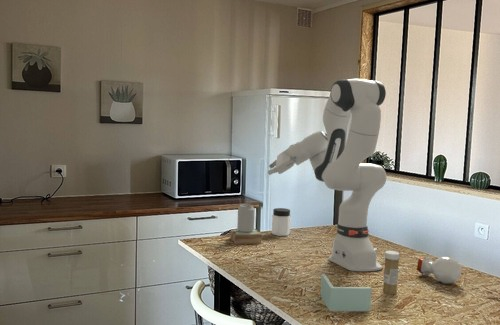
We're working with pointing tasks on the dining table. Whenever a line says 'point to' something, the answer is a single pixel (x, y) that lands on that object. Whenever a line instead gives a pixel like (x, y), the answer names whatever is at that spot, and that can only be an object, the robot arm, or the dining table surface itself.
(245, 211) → the can
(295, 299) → the dining table surface
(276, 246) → the dining table surface
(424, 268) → the potion bottle
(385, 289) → the sprinkles bottle
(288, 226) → the jar
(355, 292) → the right angle wall
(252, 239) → the picture frame
